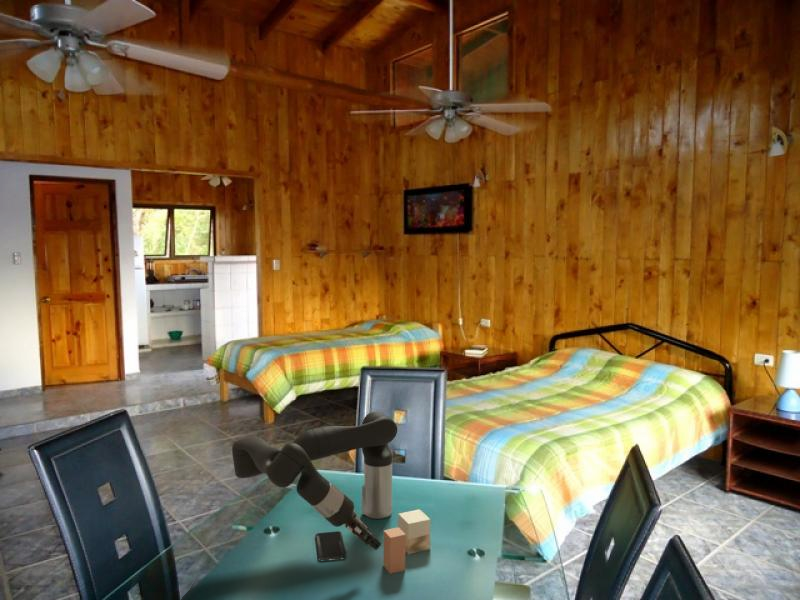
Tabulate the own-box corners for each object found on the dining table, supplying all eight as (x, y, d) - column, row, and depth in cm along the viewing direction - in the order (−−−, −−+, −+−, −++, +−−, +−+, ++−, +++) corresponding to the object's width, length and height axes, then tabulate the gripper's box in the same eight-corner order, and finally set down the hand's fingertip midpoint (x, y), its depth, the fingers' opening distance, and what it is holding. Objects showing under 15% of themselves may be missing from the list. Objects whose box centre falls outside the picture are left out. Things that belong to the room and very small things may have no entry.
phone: (318, 559, 159) (315, 533, 174) (318, 563, 159) (315, 536, 174) (347, 556, 161) (341, 530, 176) (347, 560, 161) (341, 534, 176)
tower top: (408, 539, 164) (408, 523, 163) (398, 528, 170) (398, 513, 170) (430, 534, 167) (430, 519, 166) (419, 523, 173) (419, 509, 173)
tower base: (408, 554, 164) (408, 539, 164) (398, 543, 170) (398, 528, 170) (430, 549, 167) (430, 534, 166) (419, 538, 173) (419, 524, 173)
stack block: (390, 573, 154) (390, 537, 153) (383, 565, 158) (383, 530, 157) (405, 569, 156) (405, 534, 155) (398, 561, 160) (398, 527, 159)
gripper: (313, 504, 152) (353, 538, 158) (330, 528, 139) (372, 564, 145) (333, 481, 154) (371, 516, 160) (351, 503, 141) (392, 540, 147)
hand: (372, 539), depth 152 cm, fingers open, 8 cm apart
